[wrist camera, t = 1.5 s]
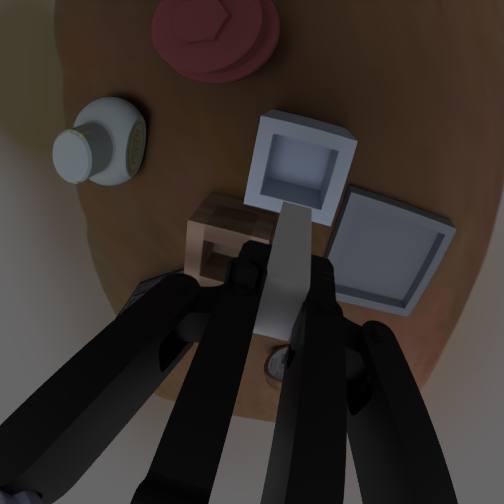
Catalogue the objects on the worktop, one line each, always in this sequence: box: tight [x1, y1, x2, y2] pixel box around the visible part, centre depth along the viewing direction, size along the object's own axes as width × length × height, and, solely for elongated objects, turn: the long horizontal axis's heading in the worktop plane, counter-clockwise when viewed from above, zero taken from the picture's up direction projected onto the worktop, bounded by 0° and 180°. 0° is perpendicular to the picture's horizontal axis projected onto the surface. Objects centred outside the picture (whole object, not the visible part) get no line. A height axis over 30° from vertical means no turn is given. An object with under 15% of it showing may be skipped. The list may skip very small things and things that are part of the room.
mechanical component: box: [151, 0, 280, 83], centre depth 20 cm, size 12×10×10 cm
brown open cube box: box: [184, 192, 277, 287], centre depth 34 cm, size 8×8×8 cm
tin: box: [264, 345, 289, 392], centre depth 42 cm, size 15×3×8 cm, turn 106°
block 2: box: [244, 109, 358, 226], centre depth 28 cm, size 8×8×8 cm
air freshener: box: [53, 97, 146, 186], centre depth 29 cm, size 11×8×10 cm
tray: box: [323, 185, 457, 317], centre depth 34 cm, size 14×14×2 cm
